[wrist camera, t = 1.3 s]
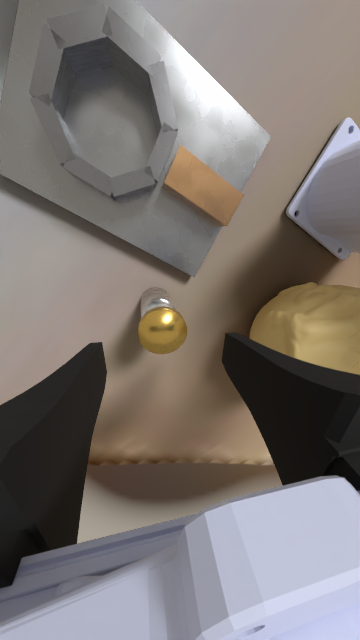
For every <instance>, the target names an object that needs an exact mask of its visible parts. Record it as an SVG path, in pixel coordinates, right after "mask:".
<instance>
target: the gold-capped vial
mask: <svg viewBox="0 0 360 640" xmlns="http://www.w3.org/2000/svg"><path fill="white" fill-rule="evenodd" d="M138 336H139V340H140V343H141V344H142V346H143V347H144V348H145V349H147V350H148V351H150V352H152V353H156V354H167V353H170V352H173V351H175V350H176V349H178V348H179V347H180V346H181V345H182V344H183V343H184V341H185V339H186V336H187V326H186V323H185V321H184V319H183V317H182V316H181V314H180V313H179V312H178V311H176V309H175V307H174V305H173V303H172V301H171V298H170V296H169V294H168V293H167V292H166V291H165V290H163V289H161V288H157V287H155V288H150V289H148V290H147V291H145V292H144V293H143V295H142V297H141V320H140V322H139V327H138Z"/></svg>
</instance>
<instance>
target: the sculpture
mask: <svg viewBox="0 0 360 640" xmlns="http://www.w3.org/2000/svg"><path fill="white" fill-rule="evenodd" d="M249 339H251V340H253V341H255V342H258V343H260V344H262V345H264V346H266V347H268V348H271V349H273V350H275V351H278V352H280V353H283V354H285V355H288V356H290V357H293V358H296V359H299V360H302V361H305V362H308V363H312V364H315V365H319V366H322V367H326V368H330V369H334V370H339V371H344V372H348V373H353V374H358V375H360V289H359V288H354V287H349V286H342V285H321V286H318V285H317V284H316V283H313V282H309V283H306V284H302V285H297V286H293V287H290V288H288V289H285V290H282V291H281V292H280V293H279V294H278V295H277V296H276V297H275V298H273V299H272V300H270V301H269V302H268V303H267V304H265V305H264V306H263V307H262V309H261V310H260V311H259V312H258V314H257V315H256V317H255V319H254V321H253V324H252V327H251V330H250V337H249Z"/></svg>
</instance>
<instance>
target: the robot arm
mask: <svg viewBox="0 0 360 640" xmlns="http://www.w3.org/2000/svg"><path fill="white" fill-rule="evenodd" d="M348 129H349V133H348ZM295 211H296V216H295V215H294V213H295ZM286 215H287V216H288V217H289V218H290V219H292V220H293V221H294V222H295V223H296V224H298V225H299V226H300V227H301V228H302V229H304V230H305V231H306V232H307V233H308V234H310V235H311V236H312V237H313V238H314V239H316V240H317V241H318V242H319V243H320V244H322V245H323V246H324V247H325V248H326V249H328V250H329V251H330V252H331V253H332V254H334V255H335V256H336V257H337V258H338V259H340V260H344V259H346V258H347V257H348V256H349V254H350V253H351V252H357V253H360V129H359V128H358V127H357V125H356V124H355V123H354V121H353V120H352V119H351V118H346V119H344V120H343V121H342V122H341V123H340V124H339V126H338V127H337V129H336V131H335V132H334V134H333V135H332V137H331V139H330V140H329V142H328V143H327V145H326V147H325V148H324V150H323V151H322V153H321V155H320V156H319V158H318V159H317V161H316V163H315V164H314V166H313V167H312V169H311V171H310V172H309V174H308V175H307V177H306V179H305V180H304V182H303V183H302V185H301V187H300V188H299V190H298V191H297V193H296V195H295V196H294V198H293V199H292V201H291V203H290V204H289V206H288V207H287V210H286ZM338 249H339V250H338ZM222 363H223V365H224V367H225V370H226V372H227V374H228V376H229V378H230V379H231V381H232V382H233V384H234V386H235V387H236V389H237V391H238V392H239V394H240V395H241V397H242V399H243V400H244V402H245V403H246V405H247V407H248V408H249V410H250V412H251V414H252V416H253V418H254V420H255V422H256V424H257V426H258V428H259V430H260V432H261V435H262V437H263V439H264V441H265V443H266V446H267V448H268V450H269V453H270V455H271V457H272V460H273V462H274V464H275V467H276V469H277V472H278V474H279V477H280V479H281V482H282V485H283V486H280V487H275V488H271V489H268V490H263V491H260V492H255V493H251V494H247V495H243V496H239V497H234V498H230V499H227V500H224V501H222V502H219V503H216V504H214V505H211V506H208V507H206V508H204V509H203V510H201V511H200V512H199V513H197V514H194V515H190V516H186V517H182V518H178V519H174V520H170V521H166V522H162V523H158V524H154V525H150V526H146V527H142V528H138V529H134V530H130V531H126V532H122V533H118V534H114V535H110V536H106V537H102V538H98V539H94V540H90V541H86V542H82V543H79V544H77V536H78V529H79V520H80V511H81V504H82V498H83V490H84V483H85V476H86V469H87V464H88V457H89V451H90V445H91V439H92V435H93V430H94V426H95V423H96V419H97V415H98V412H99V408H100V404H101V401H102V397H103V393H104V390H105V383H106V375H107V370H106V364H105V358H104V352H103V346H102V342H98V343H90V344H88V345H87V346H86V347H85V348H83V349H82V350H81V351H80V352H79V353H78V354H76V355H75V356H74V357H73V358H72V359H70V360H69V361H68V362H67V363H65V364H64V365H63V366H62V367H60V368H59V369H58V370H56V371H55V372H54V373H52V374H51V375H50V376H48V377H47V378H45V379H44V380H42V381H41V382H40V383H38V384H36V385H35V386H33V387H32V388H30V389H28V390H27V391H25V392H24V393H22V394H20V395H18V396H16V397H15V398H13V399H11V400H9V401H7V402H6V403H4V404H2V405H0V640H360V375H358V374H353V373H348V372H344V371H339V370H334V369H330V368H326V367H322V366H319V365H315V364H312V363H308V362H305V361H302V360H299V359H296V358H293V357H290V356H288V355H285V354H283V353H280V352H278V351H275V350H273V349H271V348H268V347H266V346H264V345H262V344H260V343H258V342H255V341H253V340H251V339H249V338H247V337H245V336H243V335H240V334H238V333H226V334H225V341H224V348H223V356H222Z"/></svg>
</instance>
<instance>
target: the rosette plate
mask: <svg viewBox="0 0 360 640" xmlns="http://www.w3.org/2000/svg"><path fill="white" fill-rule="evenodd" d="M270 138H271V136H270V135H269V134H268V133H267V132H266V131H265V130H264V129H263V128H262V127H261V126H260V125H259V124H258V123H257V122H256V121H255V120H254V119H253V118H252V117H251V116H250V115H249V114H248V113H247V112H246V111H245V110H244V109H243V108H242V107H241V106H240V105H239V104H238V103H237V102H236V101H235V100H234V99H233V98H232V97H231V96H230V95H229V94H228V93H227V92H226V91H225V90H224V89H223V88H222V87H221V86H220V85H219V84H218V83H217V82H216V81H215V80H214V79H213V78H212V77H211V76H210V75H209V74H208V73H207V72H206V71H205V70H204V69H203V68H202V67H201V66H200V65H199V64H198V63H197V62H196V61H195V60H194V59H193V58H192V57H191V56H190V55H189V54H188V53H187V52H186V51H185V49H184V48H183V47H182V46H181V45H180V44H179V43H178V42H177V41H176V40H175V39H174V38H173V37H172V36H171V35H170V34H169V33H168V32H167V31H166V30H165V29H164V28H163V27H162V26H161V25H160V24H159V23H158V22H157V21H156V20H155V19H154V18H153V17H152V16H151V15H150V14H149V13H148V12H147V11H146V10H145V9H144V8H143V7H142V6H141V5H140V4H139V3H138V2H137V1H136V0H19V3H18V8H17V14H16V19H15V25H14V30H13V36H12V41H11V47H10V53H9V58H8V64H7V69H6V75H5V80H4V86H3V91H2V97H1V102H0V174H1V175H3V176H5V177H7V178H8V179H10V180H12V181H14V182H16V183H18V184H20V185H22V186H24V187H25V188H27V189H29V190H31V191H33V192H35V193H37V194H39V195H40V196H42V197H44V198H46V199H48V200H50V201H52V202H54V203H55V204H57V205H59V206H61V207H63V208H65V209H67V210H69V211H71V212H72V213H74V214H76V215H78V216H80V217H82V218H84V219H86V220H87V221H89V222H91V223H93V224H95V225H97V226H99V227H101V228H102V229H104V230H106V231H108V232H110V233H112V234H114V235H116V236H118V237H119V238H121V239H123V240H125V241H127V242H129V243H131V244H133V245H134V246H136V247H138V248H140V249H142V250H144V251H146V252H148V253H149V254H151V255H153V256H155V257H157V258H159V259H161V260H163V261H165V262H166V263H168V264H170V265H172V266H174V267H176V268H178V269H180V270H181V271H183V272H185V273H187V274H189V275H191V276H193V277H195V275H196V273H197V271H198V270H199V268H200V266H201V264H202V262H203V260H204V259H205V257H206V255H207V253H208V251H209V249H210V248H211V246H212V244H213V242H214V240H215V238H216V237H217V235H218V233H219V231H220V229H221V227H222V226H227V225H228V223H229V222H230V220H231V218H232V216H233V214H234V213H235V211H236V209H237V207H238V205H239V203H240V202H241V200H242V198H243V196H244V195H243V194H242V193H241V191H242V189H243V187H244V185H245V183H246V182H247V180H248V178H249V176H250V174H251V172H252V171H253V169H254V167H255V165H256V163H257V161H258V160H259V158H260V156H261V154H262V152H263V150H264V149H265V147H266V145H267V143H268V141H269V139H270Z"/></svg>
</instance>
